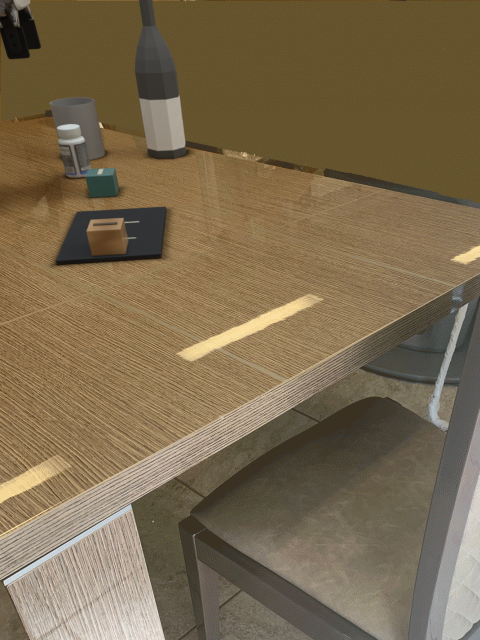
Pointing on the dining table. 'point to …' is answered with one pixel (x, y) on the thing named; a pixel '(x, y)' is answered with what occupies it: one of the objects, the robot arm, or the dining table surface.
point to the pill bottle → (73, 151)
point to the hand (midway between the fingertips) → (25, 53)
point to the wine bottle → (158, 90)
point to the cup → (80, 121)
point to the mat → (140, 229)
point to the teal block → (102, 182)
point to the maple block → (107, 236)
